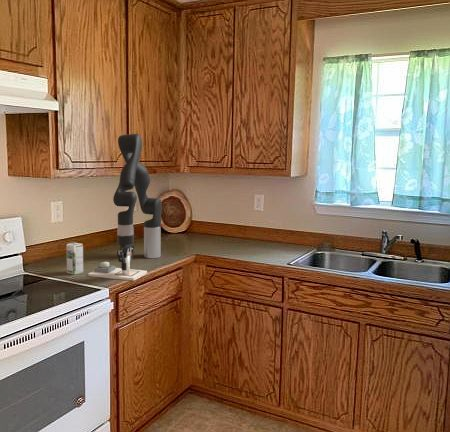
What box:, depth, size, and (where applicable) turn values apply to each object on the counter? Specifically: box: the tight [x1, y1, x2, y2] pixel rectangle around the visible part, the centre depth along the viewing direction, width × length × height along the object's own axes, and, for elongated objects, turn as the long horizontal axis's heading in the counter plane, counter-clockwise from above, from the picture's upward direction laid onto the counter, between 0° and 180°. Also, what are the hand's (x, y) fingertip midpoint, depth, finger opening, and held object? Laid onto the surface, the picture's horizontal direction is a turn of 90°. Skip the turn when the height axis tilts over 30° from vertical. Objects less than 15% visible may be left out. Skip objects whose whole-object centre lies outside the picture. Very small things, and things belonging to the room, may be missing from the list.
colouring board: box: [87, 264, 148, 282], centre depth 227 cm, size 14×24×3 cm, turn 74°
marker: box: [122, 252, 131, 275], centre depth 223 cm, size 4×4×10 cm
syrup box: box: [66, 242, 84, 275], centre depth 228 cm, size 6×6×14 cm
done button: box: [99, 261, 110, 268], centre depth 229 cm, size 4×4×3 cm
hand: (126, 268), depth 224 cm, fingers closed on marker, 3 cm apart
